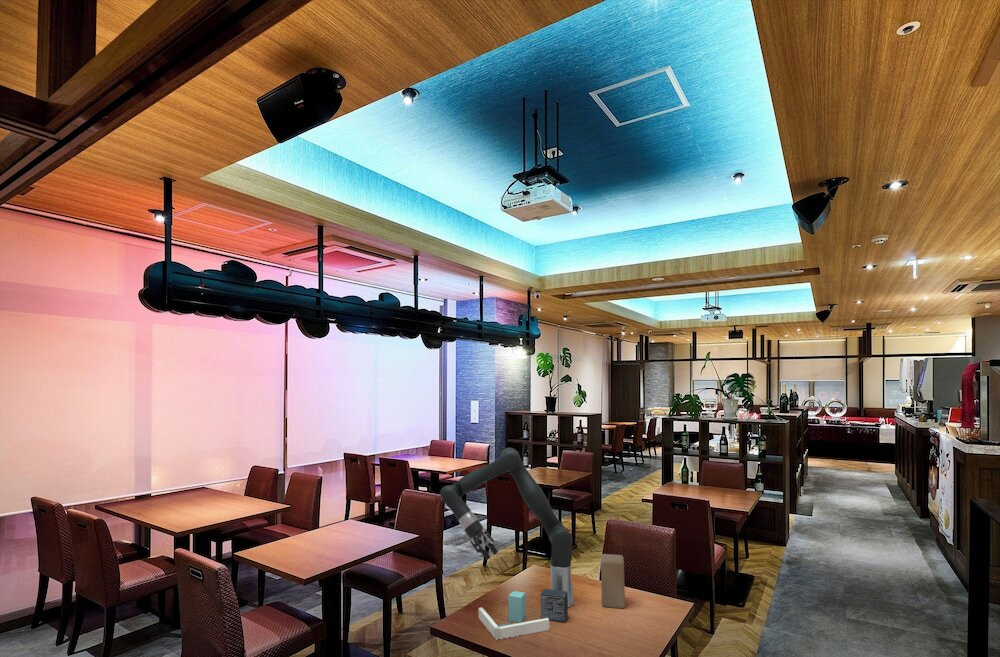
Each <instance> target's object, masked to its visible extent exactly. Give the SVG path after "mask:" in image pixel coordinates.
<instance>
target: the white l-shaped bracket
mask: <svg viewBox="0 0 1000 657" xmlns="http://www.w3.org/2000/svg"><path fill="white" fill-rule="evenodd" d="M478 620H480V622H481V623H482V624H483V626H484V627H485V628H486V629H487V631H488V632H489V633H490V635H491V636H492V637H493V638H494V639H495V641H499V640H498V639H501V640H504V639H503V638H506V639H510V638H509V637H511V638H516V637H520V636H519V635H521V636H525V635H531V634H535V633H537V634H538V633H540V632H546V631H547V632H548V631H549V630H550V621H549V619H548V618H544V619H541V618H540V619H535V620H530V621H529V620H528V621H522V623H518V622H516V623H513V621H509V622H505V623H501V624H497V623H496V622H495V621H494V619H493V618H492V617H491V616H490V615H489V614H488V613H487V611H486V610H485V609H484V607H478ZM515 636H516V637H515Z"/></svg>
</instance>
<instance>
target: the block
mask: <svg viewBox="0 0 1000 657" xmlns="http://www.w3.org/2000/svg"><path fill="white" fill-rule="evenodd" d="M600 570H601V571H600V573H601V574H600V576H601V577H600V580H601V583H600V584H601V586H600V587H601V606H602V607H605V608H617V609H624V608H625V607H626V595H625V594H626V593H625V591H626V590H625V560H624V556H623V555H622V554H611V553H610V554H608V553H603V554H601V555H600Z"/></svg>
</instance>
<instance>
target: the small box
mask: <svg viewBox="0 0 1000 657" xmlns="http://www.w3.org/2000/svg"><path fill="white" fill-rule="evenodd" d="M540 616H541V617H540V619H544V618H548V619H549V622H551V621H552V622H557V623H558V622H559V623H563V624H564V623H566V621H567V620H568V618H569V607H568V592H567V591H558V590H551V588H550V589H549V588H544V589H542V591H541V593H540Z"/></svg>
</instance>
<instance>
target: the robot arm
mask: <svg viewBox="0 0 1000 657" xmlns="http://www.w3.org/2000/svg"><path fill="white" fill-rule="evenodd" d="M506 473H509V474H510V475H511V477H512V479H513V480H514V482H515V485H516V486H517V488H518V491H519V493H520V495H521V497H522V499H523V501H524V502H525V504H526V505H527V507H528V508H529V510H530V511H531V513H532V514H533V515H534V516H535V518H536V519H538V521H539V522H540V524H541V525H542V527H543V529H544V530H545V533H546V534H547V537H548V539H549V542H550V543H551V557H550V559H549V560H550V562H549V563H550V590H558V591H567V592H568V608H570V607H571V606H574V582H573V581H572V559H573V538H572V535H571V533H570V532H569V530H568V528H566V527H565V526H564V525H563V524H562V523H561V521H560V520H559V519H558V517H557V516H556V514H555V513H554V511H553V508H552V506H551V504H550V502H549V500H548V498H547V496H546V494H545V493H544V491H543V490H542V488H541V487H540V485H539V484H538V483H537V481H536V479H534V477H533V476H532V475H531V473H530V472H529V471H528V469H527V468H526V466H525V464H524V462H523V460H522V457H521V455H520V454H519V451H518V450H516V449H515V448H513V447H505V448H503V449H502V451H501V452H500V455H499V457H498V458H497V459H496V460H494V461H493V462H491V463H490V464H488V465H486V466H484V467H483V466H482V467H481V468H478V469H475V470H473V471H471V472H469V473H467V474H465V475H464V476H462V477H461V478H459V480H458V481H456V482H454V483H453V484H451V485H450V484H449V485H445V486H443V487H442V488H441V489H440V493H439V494H440V498H441V500H442V501H443V502H444V504H445V505H446V506H447V507H448V509H450V510H451V512H452V513H453V516H454V517H455V519H456V520H457V521H458V522H459V525H460V526H461V527H462V529H463V531H464V532H465V534H466V536H468V538H469V539H471V540H470V541H469V542H470V544H471V545H472V546H473V548H474V549H475V551H476V553H478V554H479V553H480V554H481V555H482V557H483V558H484V559H485V561H488V560H489V559H491V555H490V553H489V552H488V551H487V550H486V548H485V546H487V547H488V548H489V550H490V551H491V553H492V554H493V555H494V556H496V554H497V553H499V551H498V549H497V548H496V545H494V543H495V540H494V539H493V537H492V536H491V534H490V533H489V531H488V530H485V531H483V529H484V525H482V523H481V522H480V521H479V519H478V517H477V516H476V515H475V513H474V512H473V511H472V510H471V509H470V507H469V506H468V504H467V503H466V501H463V500H462V498H461V497H463V496H465V495H466V494H467V493H469V492H470V491H473V490H474V489H476V488H478V487H480V486H481V485H483V484H485V483H487V482H488V481H490V480H493V479H494V478H496V477H499V476H501V475H503V474H506Z"/></svg>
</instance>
